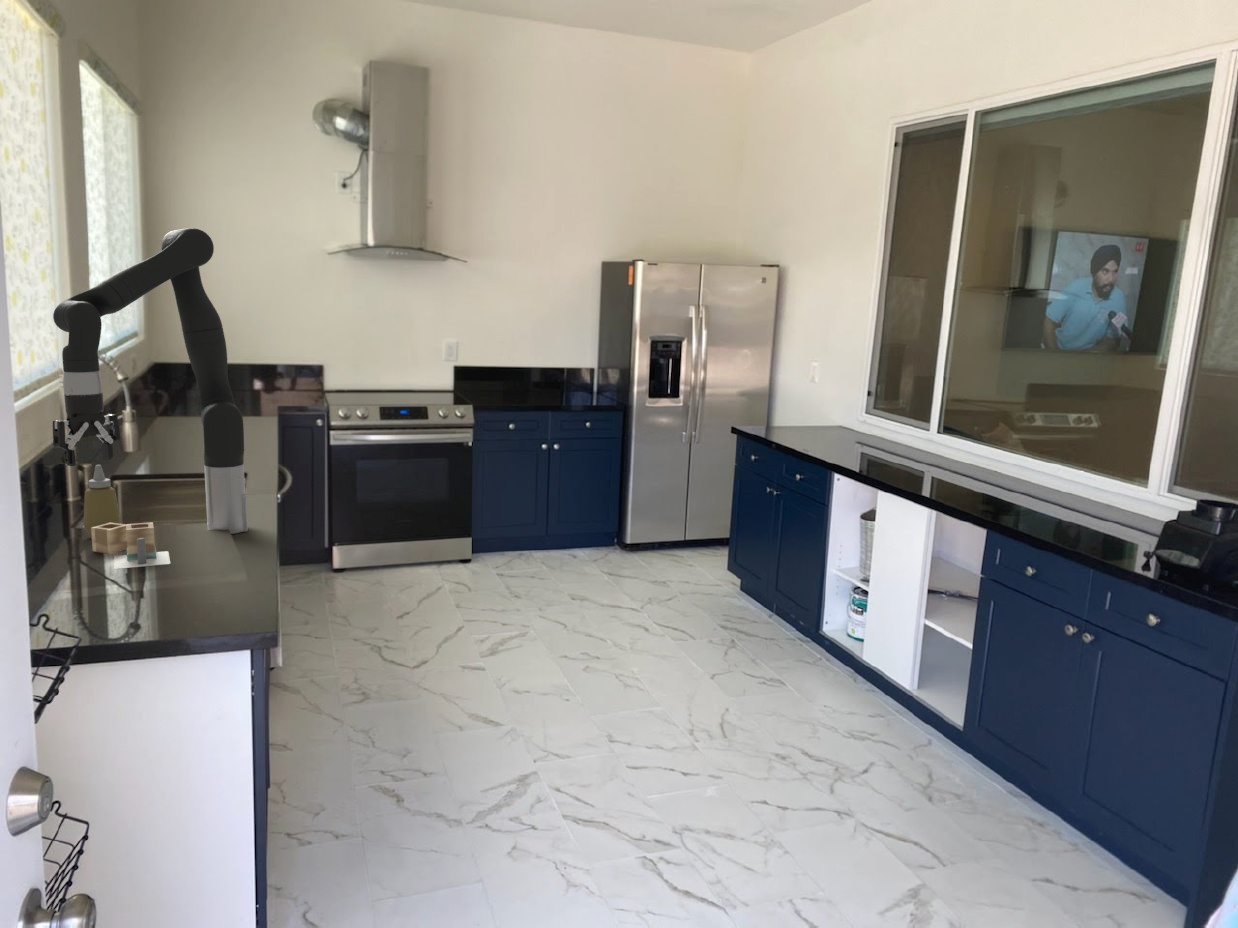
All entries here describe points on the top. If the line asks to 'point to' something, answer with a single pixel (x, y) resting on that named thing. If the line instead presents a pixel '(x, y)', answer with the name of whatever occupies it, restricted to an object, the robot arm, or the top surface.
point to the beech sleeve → (109, 538)
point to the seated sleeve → (140, 532)
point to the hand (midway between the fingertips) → (89, 462)
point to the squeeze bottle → (100, 502)
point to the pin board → (134, 563)
